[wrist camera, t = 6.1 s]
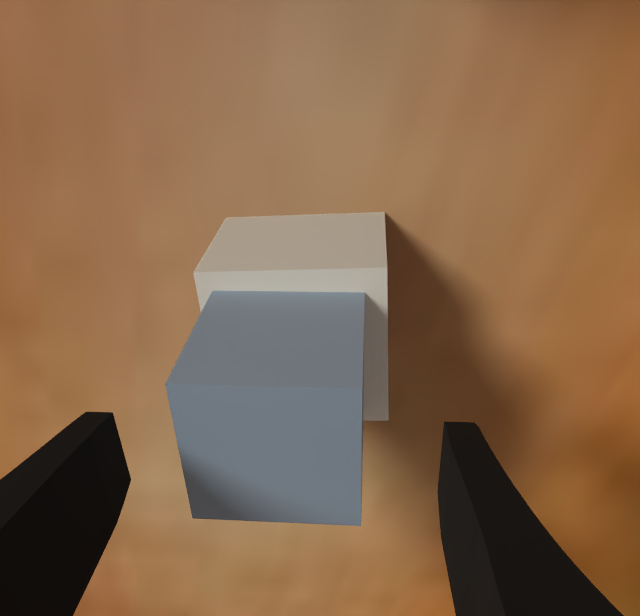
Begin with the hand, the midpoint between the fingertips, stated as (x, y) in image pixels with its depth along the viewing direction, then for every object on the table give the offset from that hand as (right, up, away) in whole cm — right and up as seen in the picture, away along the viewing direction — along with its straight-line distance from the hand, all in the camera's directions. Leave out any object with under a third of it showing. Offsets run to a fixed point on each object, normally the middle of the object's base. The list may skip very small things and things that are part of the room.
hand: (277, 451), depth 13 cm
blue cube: (0, +2, +3) cm, 4 cm away
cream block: (+1, +4, +7) cm, 8 cm away
